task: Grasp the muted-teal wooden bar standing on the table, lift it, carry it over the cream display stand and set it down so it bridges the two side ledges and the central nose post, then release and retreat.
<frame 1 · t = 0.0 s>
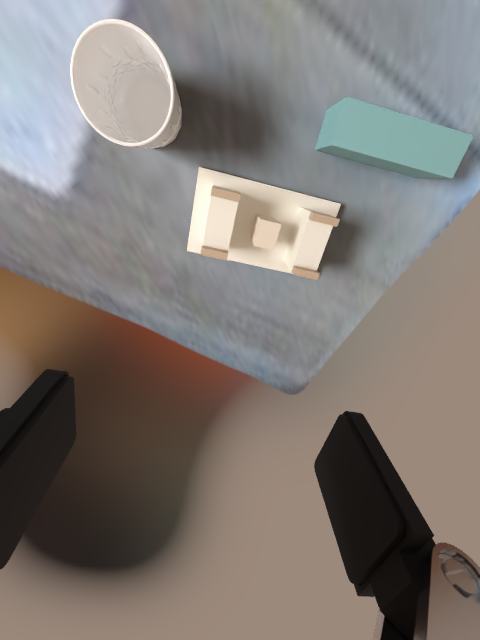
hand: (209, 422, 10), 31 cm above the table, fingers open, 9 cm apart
white cup: (152, 113, 31), on the table
display stand: (261, 226, 37), on the table
teal bar: (374, 145, 34), on the table
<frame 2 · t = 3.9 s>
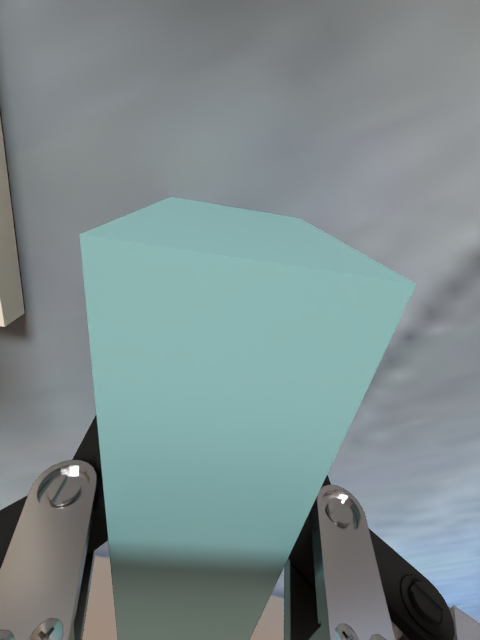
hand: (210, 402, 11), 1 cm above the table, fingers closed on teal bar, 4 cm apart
teal bar: (211, 385, 12), on the table, touching gripper
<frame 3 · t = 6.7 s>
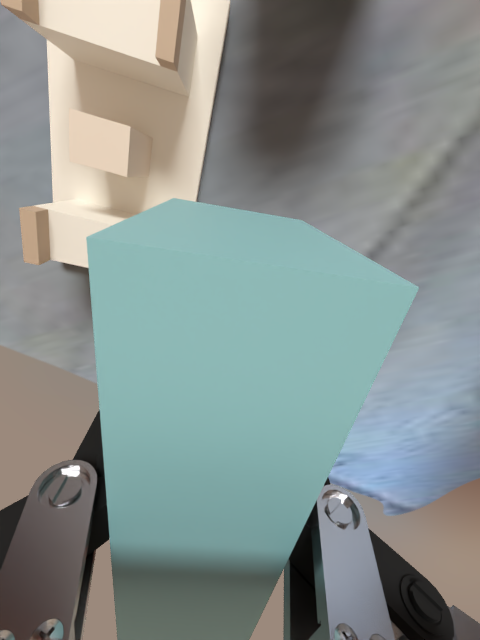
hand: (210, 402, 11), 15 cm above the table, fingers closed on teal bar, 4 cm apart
display stand: (132, 152, 20), on the table
teal bar: (211, 385, 12), point 14 cm above the table, touching gripper
when the fingers open (8 cm above the table, at t = 9.6 s): teal bar stays where it is, resting on display stand.
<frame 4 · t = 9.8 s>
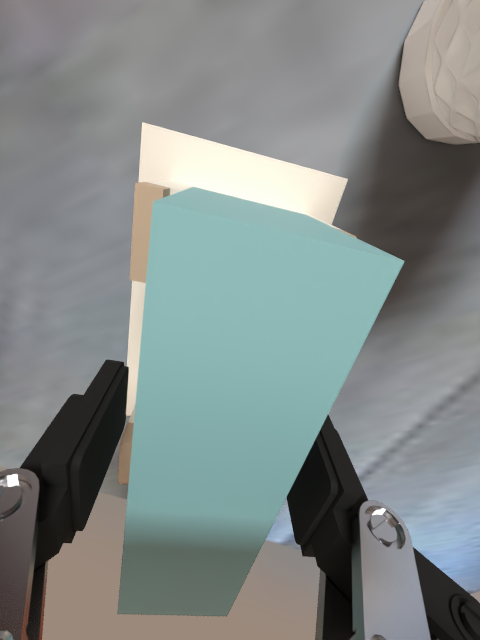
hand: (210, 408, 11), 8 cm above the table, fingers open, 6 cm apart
white cup: (466, 60, 13), on the table
display stand: (215, 311, 18), on the table
teal bar: (213, 365, 13), point 6 cm above the table, touching display stand
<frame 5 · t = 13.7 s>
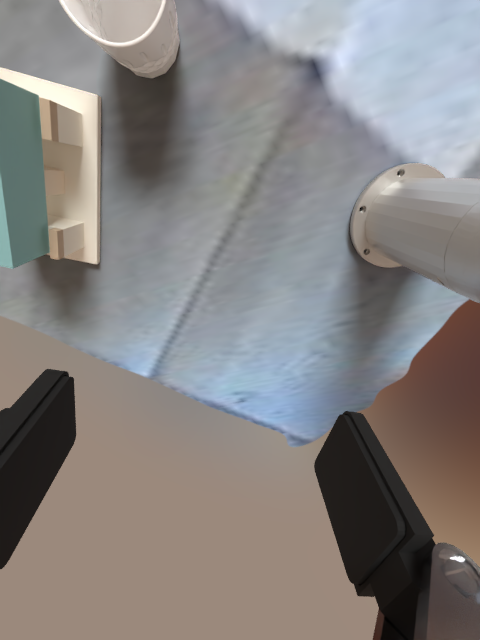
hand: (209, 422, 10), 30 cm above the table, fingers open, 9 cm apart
white cup: (145, 35, 28), on the table
display stand: (55, 178, 33), on the table
teal bar: (22, 177, 27), point 6 cm above the table, touching display stand
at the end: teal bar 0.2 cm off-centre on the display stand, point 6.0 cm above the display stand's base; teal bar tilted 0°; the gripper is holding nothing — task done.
